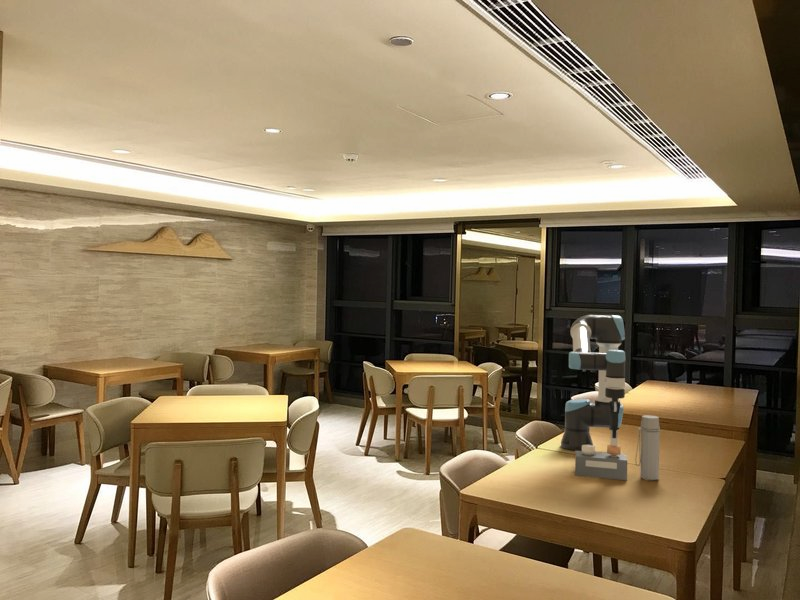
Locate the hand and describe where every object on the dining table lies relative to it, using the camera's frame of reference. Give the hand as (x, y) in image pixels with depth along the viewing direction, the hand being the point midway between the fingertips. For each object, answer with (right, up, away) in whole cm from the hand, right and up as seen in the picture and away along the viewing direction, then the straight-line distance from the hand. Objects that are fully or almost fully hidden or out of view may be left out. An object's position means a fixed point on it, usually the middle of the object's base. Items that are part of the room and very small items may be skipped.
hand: (613, 445), depth 262 cm
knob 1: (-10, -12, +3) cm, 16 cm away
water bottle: (+13, -13, -3) cm, 18 cm away
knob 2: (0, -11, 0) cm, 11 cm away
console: (-5, -12, +2) cm, 13 cm away
